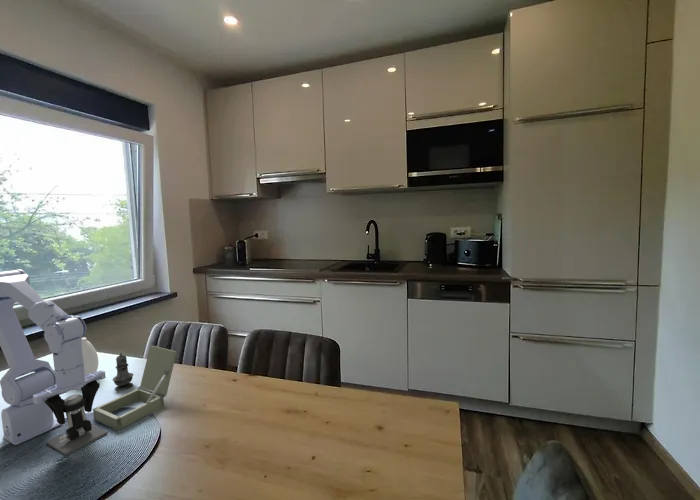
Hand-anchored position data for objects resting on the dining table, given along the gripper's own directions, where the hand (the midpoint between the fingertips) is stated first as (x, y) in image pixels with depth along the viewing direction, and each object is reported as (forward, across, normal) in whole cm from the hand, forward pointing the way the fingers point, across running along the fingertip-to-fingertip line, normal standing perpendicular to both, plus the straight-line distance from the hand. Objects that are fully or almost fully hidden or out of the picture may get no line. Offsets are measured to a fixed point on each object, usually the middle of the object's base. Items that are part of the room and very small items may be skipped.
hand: (75, 416), depth 85 cm
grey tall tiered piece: (+6, +21, +18) cm, 28 cm away
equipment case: (+6, +16, 0) cm, 17 cm away
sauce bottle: (+6, +18, +36) cm, 41 cm away
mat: (+6, 0, 0) cm, 6 cm away
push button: (+5, 0, 0) cm, 5 cm away
